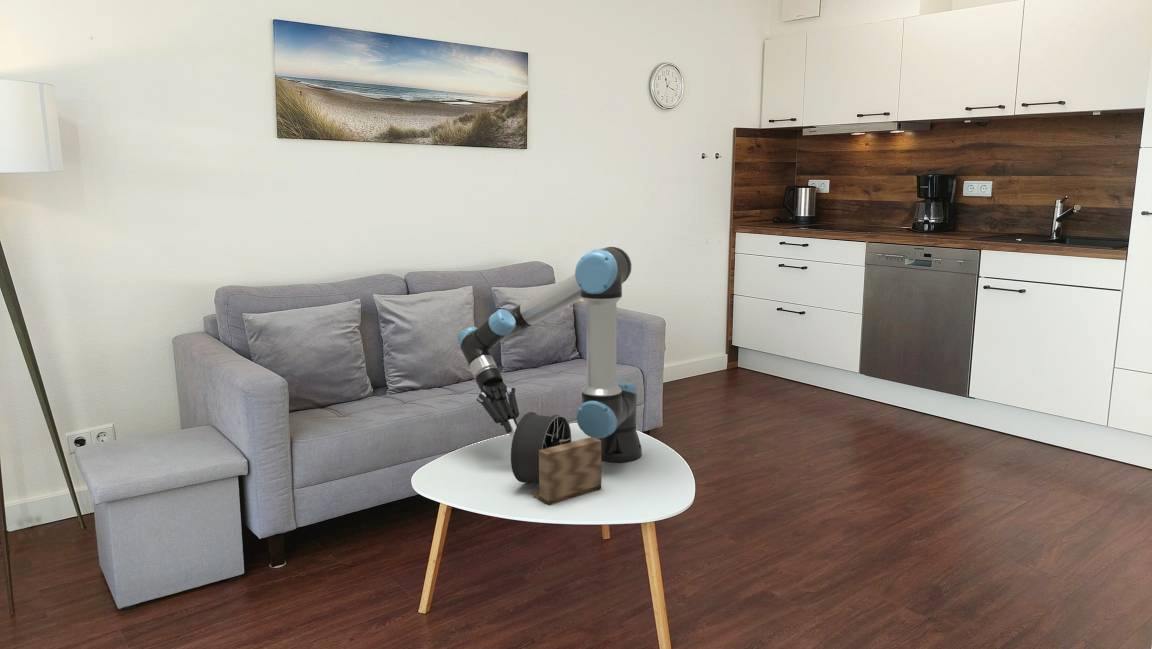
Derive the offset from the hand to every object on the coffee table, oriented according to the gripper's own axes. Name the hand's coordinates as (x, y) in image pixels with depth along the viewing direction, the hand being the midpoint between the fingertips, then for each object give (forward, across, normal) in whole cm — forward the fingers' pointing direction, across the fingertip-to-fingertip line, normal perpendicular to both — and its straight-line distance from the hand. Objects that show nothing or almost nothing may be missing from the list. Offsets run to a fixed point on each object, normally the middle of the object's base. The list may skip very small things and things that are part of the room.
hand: (517, 440), depth 238 cm
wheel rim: (+15, 0, +1) cm, 15 cm away
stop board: (+22, -1, +9) cm, 24 cm away
